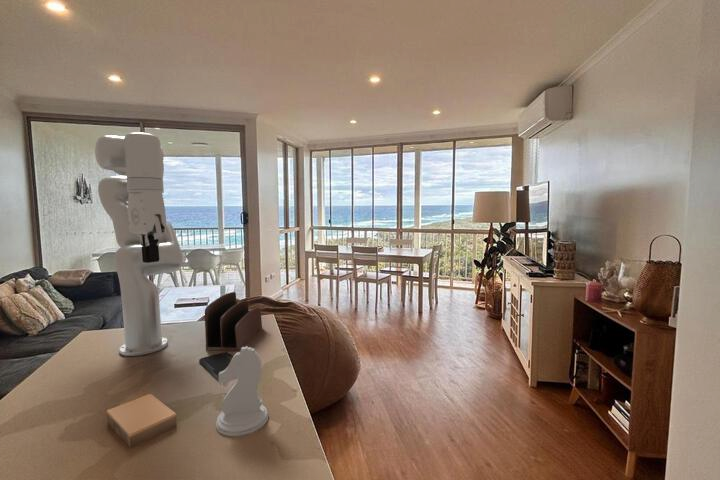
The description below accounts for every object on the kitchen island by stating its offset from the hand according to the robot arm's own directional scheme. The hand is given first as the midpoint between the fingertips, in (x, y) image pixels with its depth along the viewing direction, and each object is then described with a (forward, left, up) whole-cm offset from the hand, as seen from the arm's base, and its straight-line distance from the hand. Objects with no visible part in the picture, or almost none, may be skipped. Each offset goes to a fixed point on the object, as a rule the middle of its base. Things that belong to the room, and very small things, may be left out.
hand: (151, 261), depth 88 cm
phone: (+9, +12, -30) cm, 33 cm away
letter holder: (-5, +27, -30) cm, 40 cm away
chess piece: (+34, 0, -29) cm, 45 cm away
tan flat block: (+13, -12, -28) cm, 33 cm away
